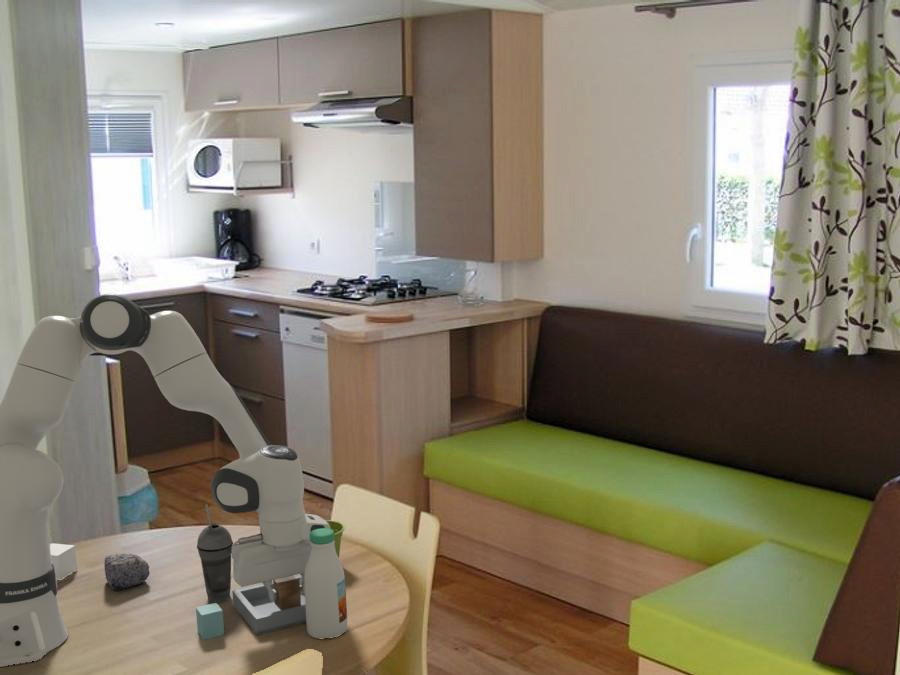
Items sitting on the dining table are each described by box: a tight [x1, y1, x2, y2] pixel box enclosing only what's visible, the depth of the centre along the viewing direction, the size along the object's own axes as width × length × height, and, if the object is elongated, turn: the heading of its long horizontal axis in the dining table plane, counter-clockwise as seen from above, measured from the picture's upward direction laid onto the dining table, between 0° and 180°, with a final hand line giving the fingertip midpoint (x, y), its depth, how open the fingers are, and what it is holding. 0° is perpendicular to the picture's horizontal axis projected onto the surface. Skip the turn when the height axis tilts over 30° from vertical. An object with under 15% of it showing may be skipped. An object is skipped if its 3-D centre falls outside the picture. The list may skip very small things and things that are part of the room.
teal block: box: [195, 602, 225, 641], centre depth 208 cm, size 4×4×5 cm
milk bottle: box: [304, 528, 348, 639], centre depth 205 cm, size 8×8×20 cm
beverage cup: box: [196, 504, 234, 603], centre depth 222 cm, size 7×7×20 cm
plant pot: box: [324, 519, 346, 559], centre depth 238 cm, size 9×9×9 cm
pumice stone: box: [104, 553, 150, 591], centre depth 231 cm, size 10×8×10 cm
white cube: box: [50, 542, 78, 579], centre depth 238 cm, size 6×6×6 cm
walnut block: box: [272, 575, 301, 610], centre depth 212 cm, size 4×4×5 cm
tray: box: [231, 574, 307, 636], centre depth 216 cm, size 15×15×3 cm
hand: (287, 596), depth 212 cm, fingers closed on walnut block, 4 cm apart
